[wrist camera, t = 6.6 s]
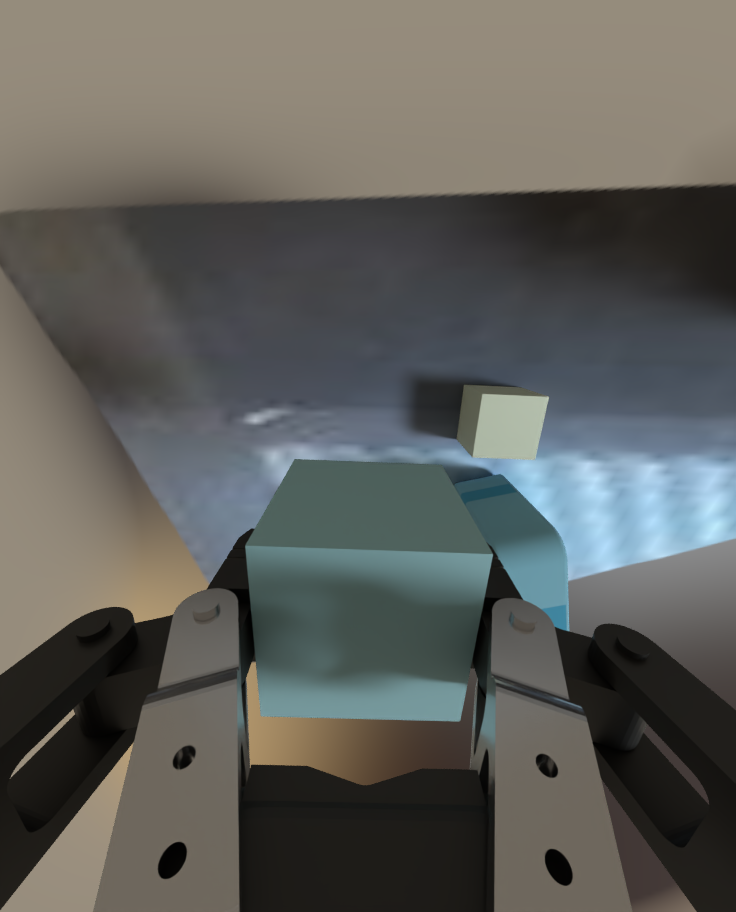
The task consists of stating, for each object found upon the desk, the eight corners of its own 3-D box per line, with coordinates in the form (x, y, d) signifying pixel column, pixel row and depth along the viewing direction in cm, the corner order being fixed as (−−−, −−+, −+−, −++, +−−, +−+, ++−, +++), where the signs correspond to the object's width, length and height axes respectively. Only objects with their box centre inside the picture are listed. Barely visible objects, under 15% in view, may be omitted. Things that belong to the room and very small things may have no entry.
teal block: (295, 459, 12) (245, 545, 7) (441, 465, 12) (493, 554, 7) (298, 580, 13) (261, 716, 8) (426, 584, 13) (459, 721, 9)
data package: (450, 477, 33) (496, 553, 22) (497, 468, 33) (568, 539, 21) (465, 577, 37) (511, 685, 25) (507, 569, 36) (572, 675, 25)
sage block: (463, 384, 30) (482, 393, 25) (519, 387, 30) (548, 396, 25) (456, 438, 32) (472, 457, 27) (509, 441, 32) (534, 459, 27)
